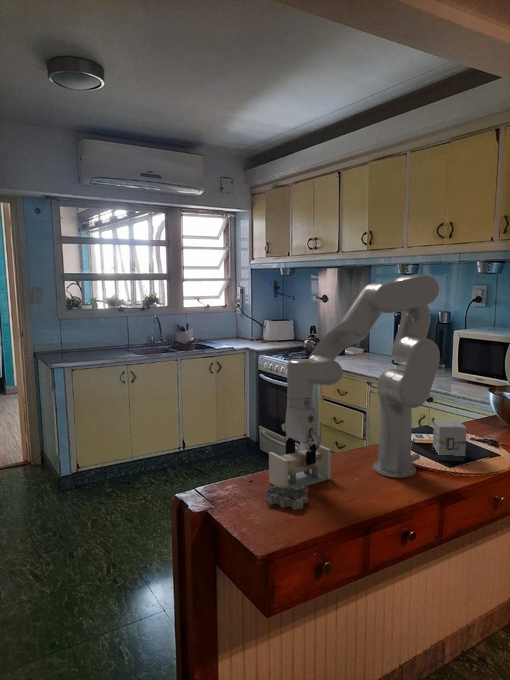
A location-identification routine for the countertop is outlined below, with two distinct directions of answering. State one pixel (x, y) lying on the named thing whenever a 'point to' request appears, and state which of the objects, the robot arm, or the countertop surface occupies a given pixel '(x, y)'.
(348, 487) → the countertop surface
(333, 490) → the countertop surface
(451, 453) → the ink box
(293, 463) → the beige wavy block
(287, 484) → the peg stand
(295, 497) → the egg carton
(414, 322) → the robot arm
